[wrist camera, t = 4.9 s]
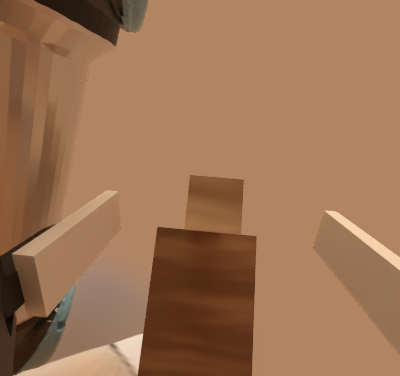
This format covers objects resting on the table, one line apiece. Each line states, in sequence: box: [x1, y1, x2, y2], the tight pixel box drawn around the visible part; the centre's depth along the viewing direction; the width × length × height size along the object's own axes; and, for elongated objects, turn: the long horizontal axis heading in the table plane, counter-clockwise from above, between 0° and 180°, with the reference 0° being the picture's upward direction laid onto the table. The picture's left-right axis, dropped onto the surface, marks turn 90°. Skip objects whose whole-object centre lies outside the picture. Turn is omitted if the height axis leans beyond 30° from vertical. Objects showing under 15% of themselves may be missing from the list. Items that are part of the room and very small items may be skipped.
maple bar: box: [184, 175, 244, 235], centre depth 24 cm, size 26×3×3 cm, turn 0°
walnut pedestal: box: [138, 227, 256, 376], centre depth 23 cm, size 14×12×30 cm
